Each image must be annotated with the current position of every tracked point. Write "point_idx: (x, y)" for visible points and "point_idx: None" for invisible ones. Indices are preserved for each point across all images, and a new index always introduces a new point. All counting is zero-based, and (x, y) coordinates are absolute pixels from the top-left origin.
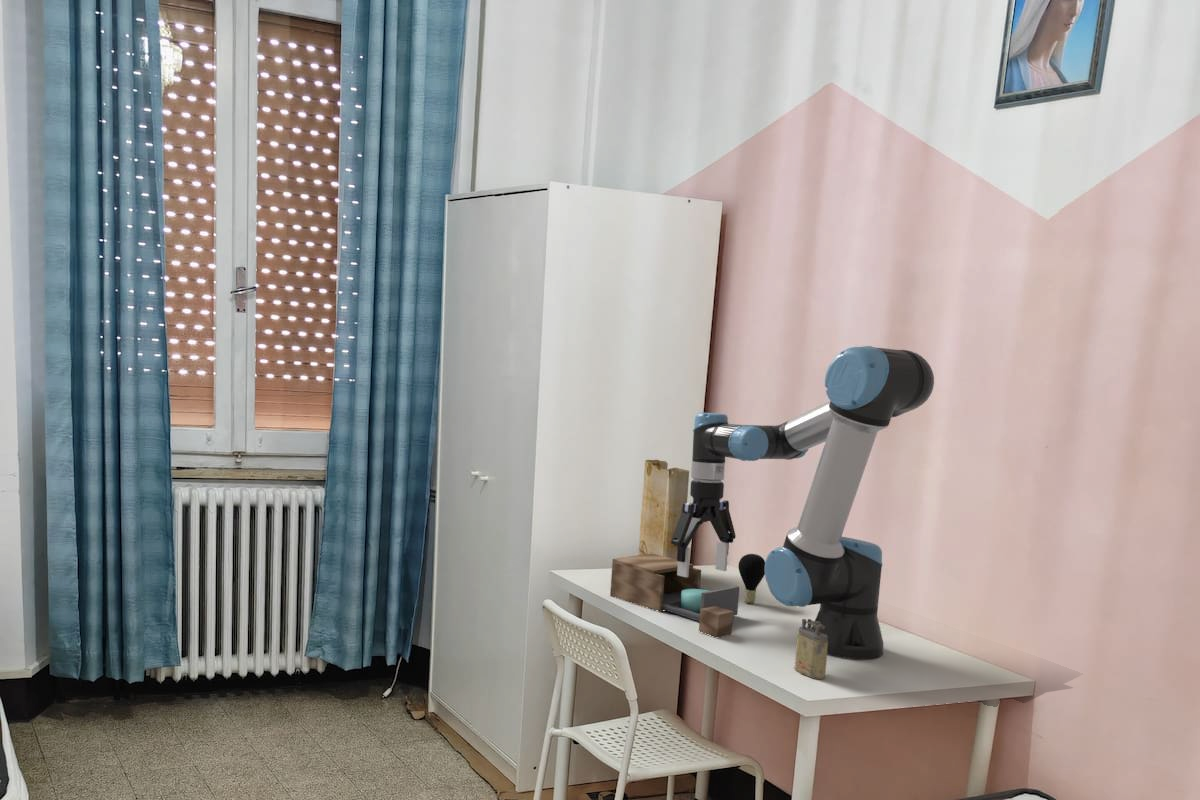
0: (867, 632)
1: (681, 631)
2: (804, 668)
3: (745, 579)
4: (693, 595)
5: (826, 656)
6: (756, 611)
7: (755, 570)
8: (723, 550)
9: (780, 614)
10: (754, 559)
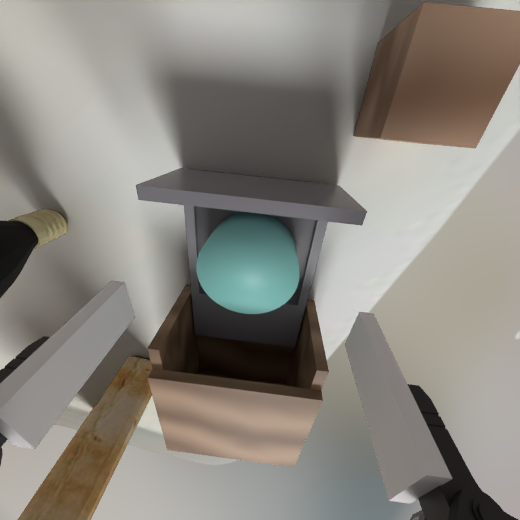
0: None
1: (445, 182)
2: None
3: (18, 252)
4: (287, 271)
5: None
6: (89, 162)
7: None
8: (55, 370)
9: (29, 89)
10: None
